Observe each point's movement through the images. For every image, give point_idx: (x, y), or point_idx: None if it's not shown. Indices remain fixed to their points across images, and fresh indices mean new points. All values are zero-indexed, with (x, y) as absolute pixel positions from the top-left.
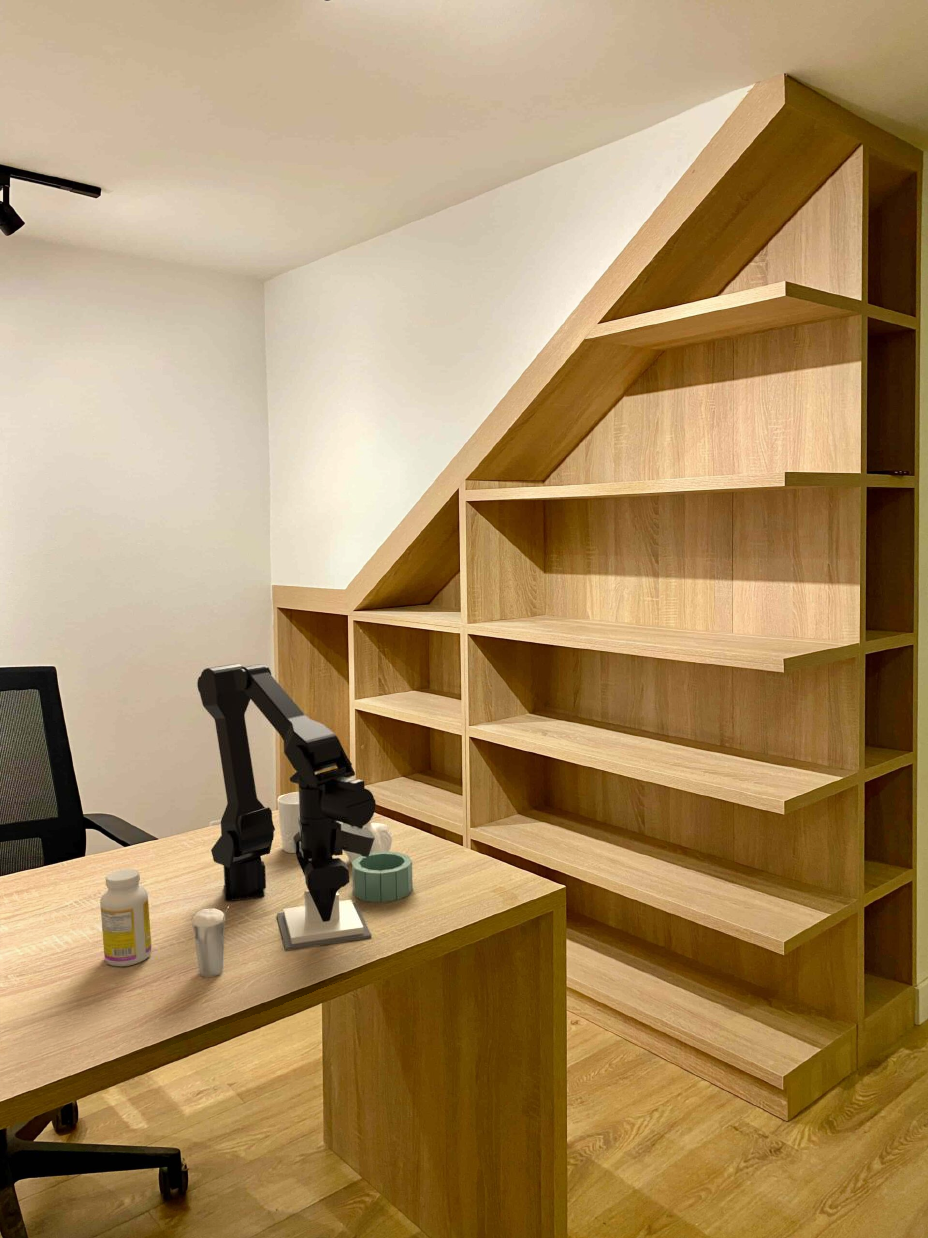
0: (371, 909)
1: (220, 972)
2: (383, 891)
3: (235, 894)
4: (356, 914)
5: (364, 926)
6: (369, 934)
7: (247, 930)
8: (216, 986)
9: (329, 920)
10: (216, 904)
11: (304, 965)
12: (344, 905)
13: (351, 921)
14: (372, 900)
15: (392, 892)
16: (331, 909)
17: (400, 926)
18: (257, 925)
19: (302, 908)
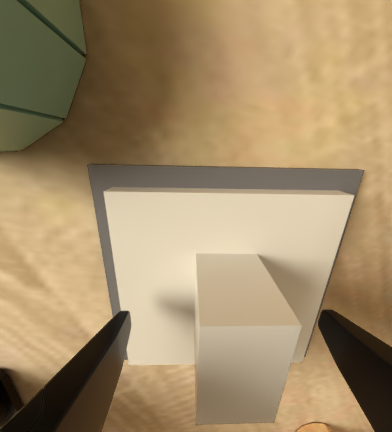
0: (144, 116)
1: (328, 428)
2: (53, 12)
3: (5, 421)
4: (245, 197)
5: (294, 177)
6: (356, 174)
7: (177, 394)
8: (358, 427)
9: (331, 311)
10: None
11: (383, 329)
12: (151, 222)
13: (290, 223)
14: (71, 93)
15: None
16: (388, 349)
17: (335, 37)
18: (160, 382)
19: (139, 331)
